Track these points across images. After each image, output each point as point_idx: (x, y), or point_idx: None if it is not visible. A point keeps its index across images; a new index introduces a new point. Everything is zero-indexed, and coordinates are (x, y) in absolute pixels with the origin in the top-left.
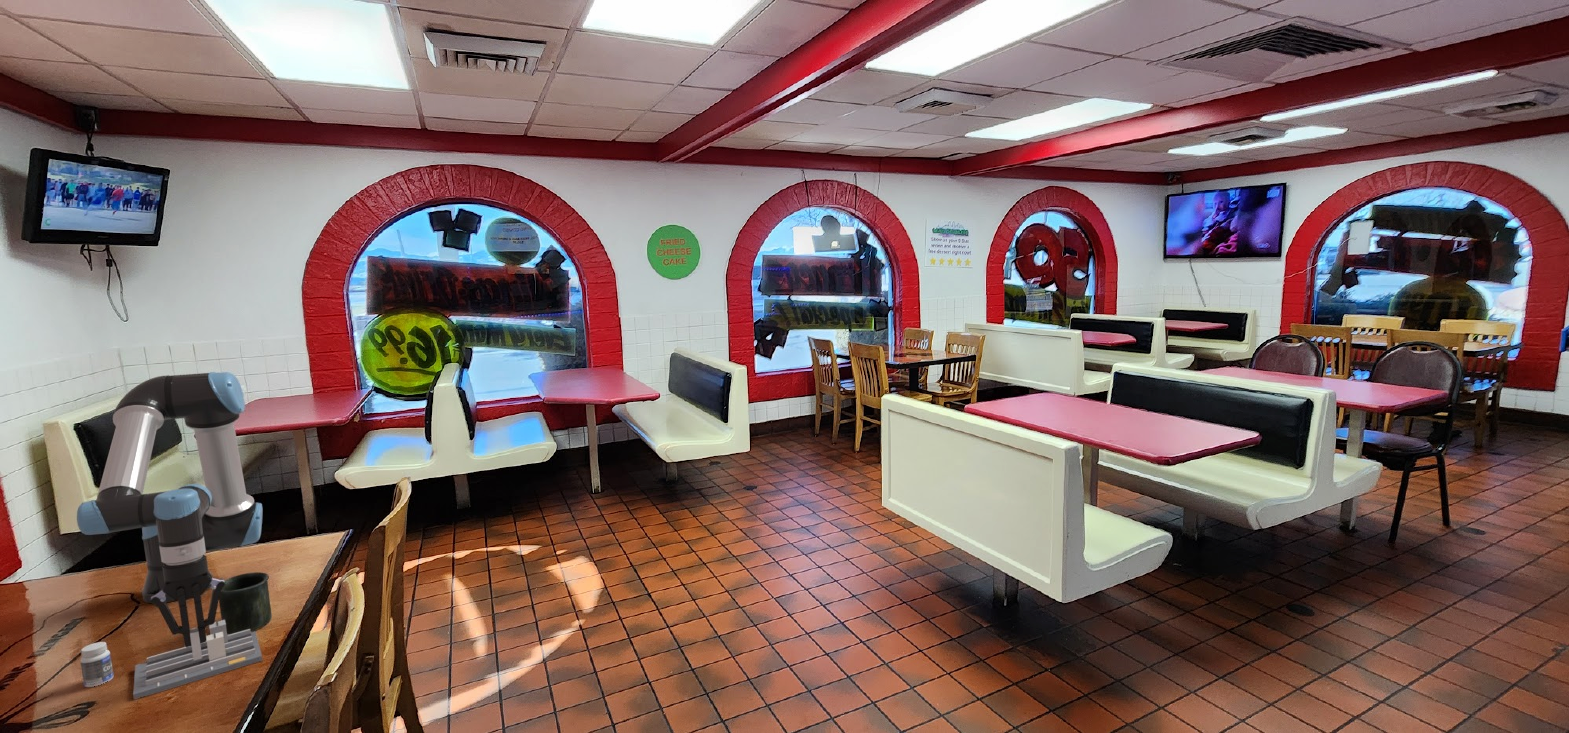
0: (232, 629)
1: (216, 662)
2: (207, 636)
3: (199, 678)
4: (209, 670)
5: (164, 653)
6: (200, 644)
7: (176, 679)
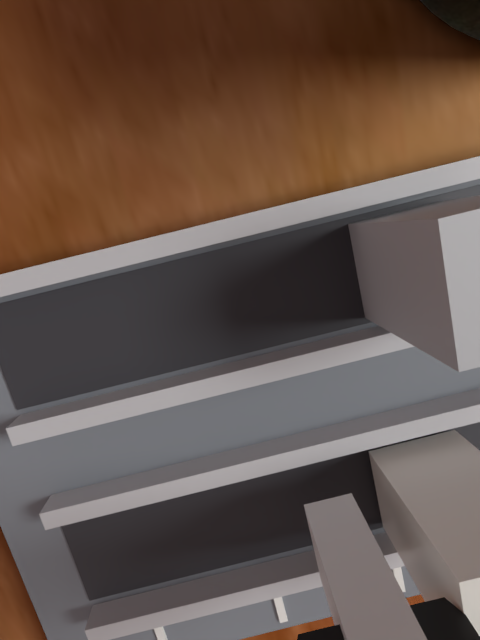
0: (470, 7)
1: None
2: (472, 598)
3: None
4: None
5: (62, 275)
6: (380, 551)
7: (239, 615)
